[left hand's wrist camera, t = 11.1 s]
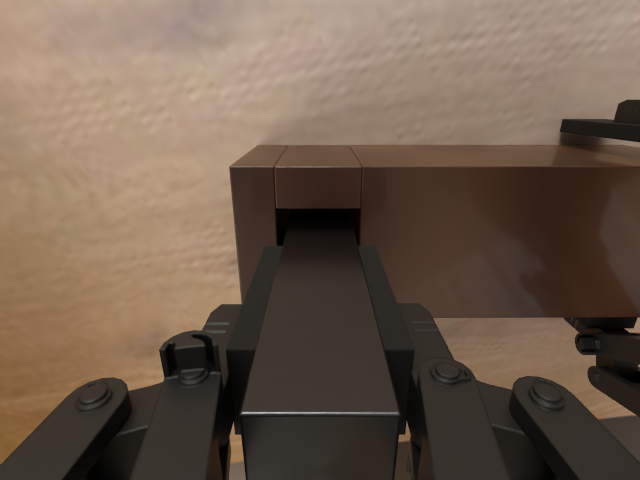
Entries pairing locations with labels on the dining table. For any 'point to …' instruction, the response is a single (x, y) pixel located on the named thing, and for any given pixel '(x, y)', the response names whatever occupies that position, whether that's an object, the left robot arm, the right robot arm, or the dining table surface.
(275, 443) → the peg
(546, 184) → the peg block
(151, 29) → the dining table surface
